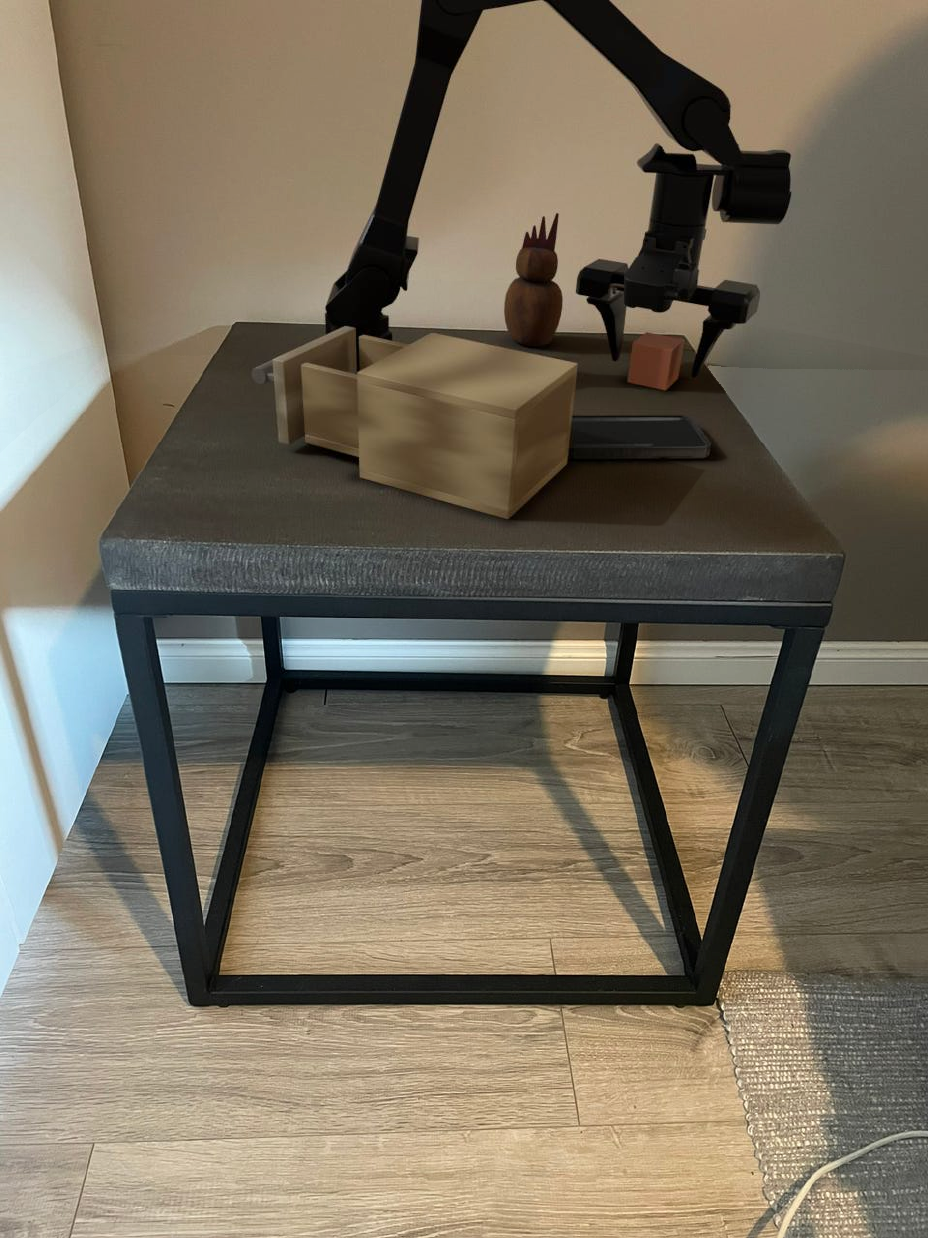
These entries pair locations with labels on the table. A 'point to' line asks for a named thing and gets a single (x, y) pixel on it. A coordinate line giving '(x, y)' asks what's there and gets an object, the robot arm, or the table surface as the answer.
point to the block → (655, 361)
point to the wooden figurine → (535, 290)
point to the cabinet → (465, 422)
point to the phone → (636, 437)
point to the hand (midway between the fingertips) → (654, 368)
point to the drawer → (322, 388)
